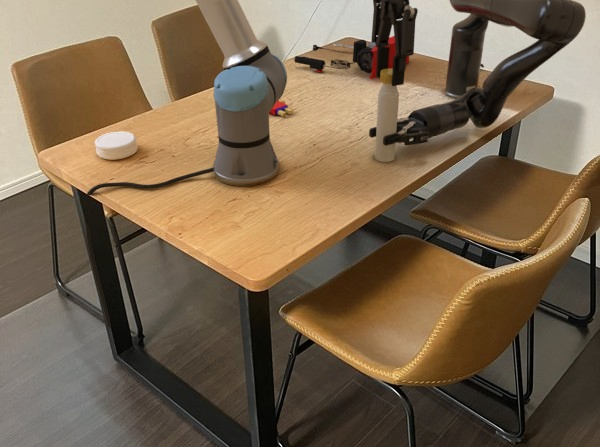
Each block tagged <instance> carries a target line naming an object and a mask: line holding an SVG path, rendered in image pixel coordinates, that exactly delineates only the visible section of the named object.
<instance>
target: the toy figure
mask: <svg viewBox="0 0 600 447" xmlns="http://www.w3.org/2000/svg"><path fill="white" fill-rule="evenodd" d="M269 114H271V115H273V116H281V117H286V116H287V114H288V115H291V114H294V109H292V108H289V106H288V104H287V103H286V101H285V100H281V99H279V100H278V101H277V102H276V104H275V105H274V106H273V108H272V109H271V111H270V112H269Z"/></svg>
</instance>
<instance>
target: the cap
mask: <svg viewBox="0 0 600 447" xmlns="http://www.w3.org/2000/svg"><path fill="white" fill-rule="evenodd" d="M392 70H393V69H383V70H381V73H380V77H379V80H380V82H381V83H382V84H383V83H385V84H392Z"/></svg>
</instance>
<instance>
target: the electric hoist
mask: <svg viewBox="0 0 600 447" xmlns="http://www.w3.org/2000/svg"><path fill="white" fill-rule="evenodd" d="M388 43H389V44H390V46H385V47H389V48H390V50H389V65H388V69H393V55H396V49H395V38H394V35H392V36H389V40H388ZM332 44H333V46H335V47H342V48H345V49H346V48H349V49H353V51H352V52H350V54H351V55H352V62H349V61H347V60H343V59H337V58H336V59H335V60H334V59H331V60H330V64H329V65H326V61H325V60H323V59H319V58H312V57H307V56H299V55H295V56H294V59H293V61H294V63H295V64H299V65H305V66H309V69H312V70H315V71H316V72H317V73H322V72H323V70H324V69H325V68H326V67H327V68H332V69H336V70H348V69H350V68H351V65H353V64H357V66H358V67H359V70H361V71H362V72H364V73H366V74H371V75H370V76H369V77H368V79H370V80H373V79H376V78H377V77H376V70H377V47H376V44H375V43H373V42H372V40H371V41H370V42H368V44H367V40H365V39H359V40H356V41H354V42H353V45H351V44H346V43H344V44H342V43H336V42H335V43H332ZM318 50H326V51H332V52H338V53H343V54H348V52H345V51H341V50H335V49H330V48H324V47H321V46H318V45H317V44H313V45H312V51H314V52H316V51H318ZM409 62H410V56H407V58H406V64H408V63H409Z"/></svg>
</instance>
